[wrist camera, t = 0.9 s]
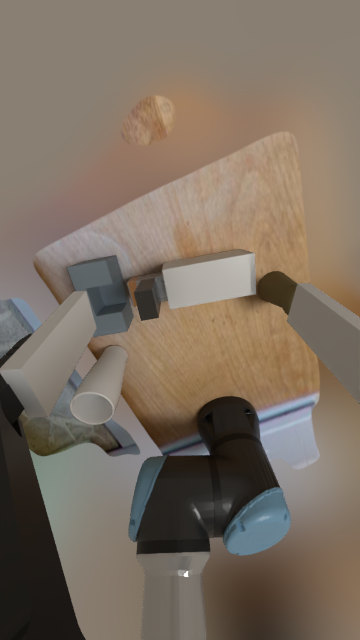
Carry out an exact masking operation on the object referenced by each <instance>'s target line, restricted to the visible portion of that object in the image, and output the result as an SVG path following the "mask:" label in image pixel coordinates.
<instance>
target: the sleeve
mask: <svg viewBox="0 0 360 640" xmlns="http://www.w3.org/2000/svg"><path fill="white" fill-rule="evenodd" d="M162 273H163V277H164V282H165V287H166V292H167V297H168V302H169V307H170V309H175V308H180V307H186V306H192V305H197V304H203V303H209V302H214V301H220V300H226V299H231V298H237V297H243V296H248V295H254V294H256V275H255V253H253V252H250V251H246V250H243V249H237V250H231V251H226V252H220V253H215V254H209V255H204V256H199V257H193V258H188V259H182V260H177V261H172V262H166V263H163V268H162Z"/></svg>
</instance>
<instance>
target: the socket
mask: <svg viewBox="0 0 360 640" xmlns="http://www.w3.org/2000/svg"><path fill="white" fill-rule="evenodd" d="M67 270H68V272H69V275H70V278H71V280H72V283H73V285H74V288H75V291H86V292H87V296H88V299H89V303H90V306H91V310H92V314H93V317H94V321H95V324H96V330H95V332H94V334H93V337H97V336H103V335H109V334H114V333H120V332H126V331H128V329H129V326H130V324H131V322H132V319H133V317H134V316H133V313H132V309H131V306H130V302H129V298H128V295H127V291H126V288H125V284H124V281H123V277H122V274H121V270H120V267H119V263H118V260H117V256H116V255H115V256H109V257H104V258H99V259H93V260H88V261H83V262H80V263H78V264H75V265H72V266H69V267H67Z"/></svg>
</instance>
